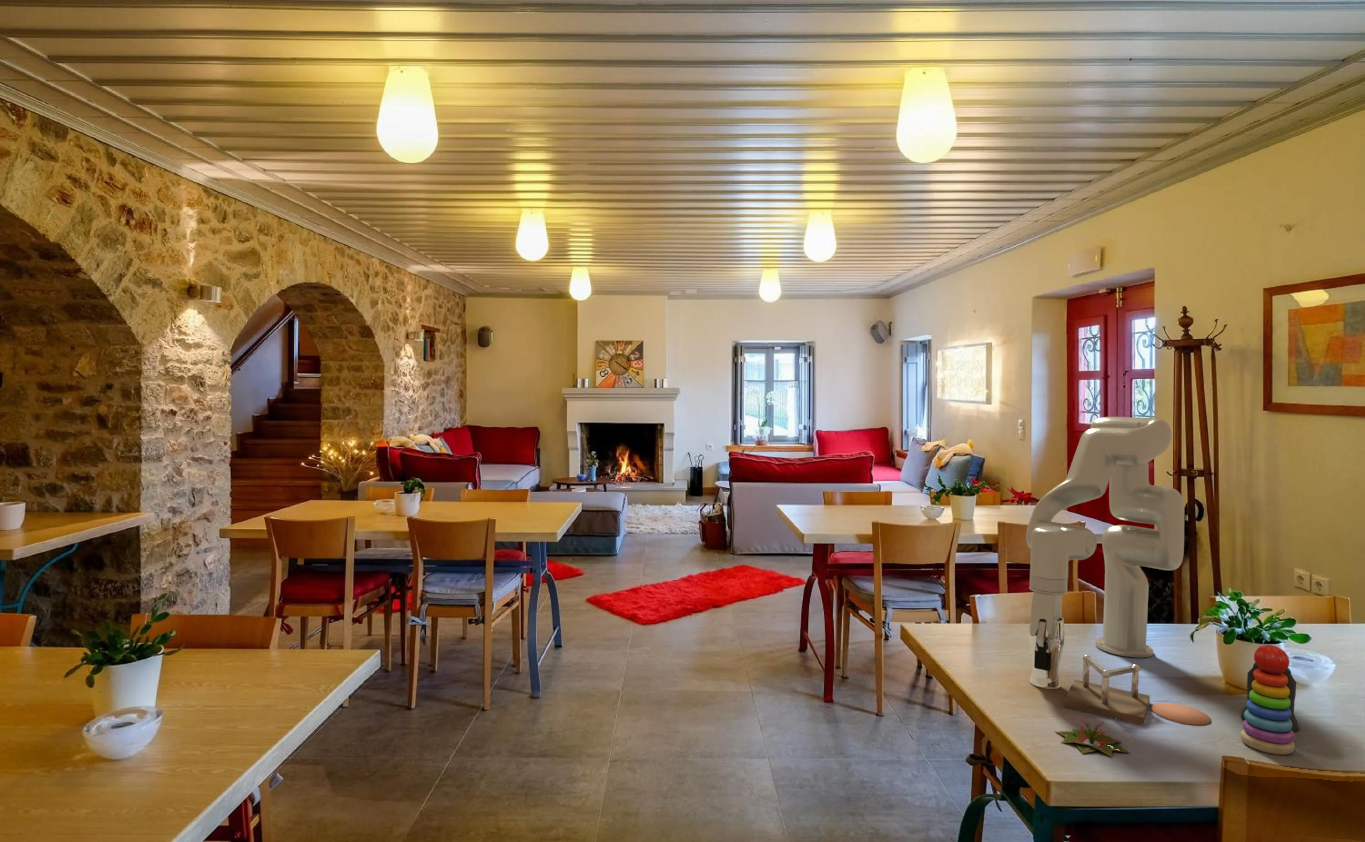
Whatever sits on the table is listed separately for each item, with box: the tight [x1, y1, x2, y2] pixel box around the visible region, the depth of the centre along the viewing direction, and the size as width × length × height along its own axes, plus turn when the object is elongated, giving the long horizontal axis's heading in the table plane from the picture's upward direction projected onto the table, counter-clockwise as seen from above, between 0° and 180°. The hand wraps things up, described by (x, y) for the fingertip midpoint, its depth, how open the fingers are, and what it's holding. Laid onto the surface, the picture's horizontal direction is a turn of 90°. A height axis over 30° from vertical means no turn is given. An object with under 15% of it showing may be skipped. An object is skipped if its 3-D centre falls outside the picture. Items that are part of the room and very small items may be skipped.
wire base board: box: [1063, 679, 1151, 726], centre depth 155 cm, size 14×14×2 cm
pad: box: [1150, 702, 1211, 726], centre depth 151 cm, size 10×10×1 cm
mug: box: [1240, 662, 1300, 734], centre depth 149 cm, size 12×9×11 cm
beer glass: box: [1028, 616, 1065, 690], centre depth 166 cm, size 7×7×15 cm
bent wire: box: [1082, 654, 1141, 705], centre depth 155 cm, size 10×11×7 cm
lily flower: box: [1054, 716, 1131, 758], centre depth 137 cm, size 12×12×5 cm
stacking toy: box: [1239, 644, 1296, 756], centre depth 137 cm, size 8×8×19 cm
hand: (1045, 664), depth 166 cm, fingers closed on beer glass, 6 cm apart
